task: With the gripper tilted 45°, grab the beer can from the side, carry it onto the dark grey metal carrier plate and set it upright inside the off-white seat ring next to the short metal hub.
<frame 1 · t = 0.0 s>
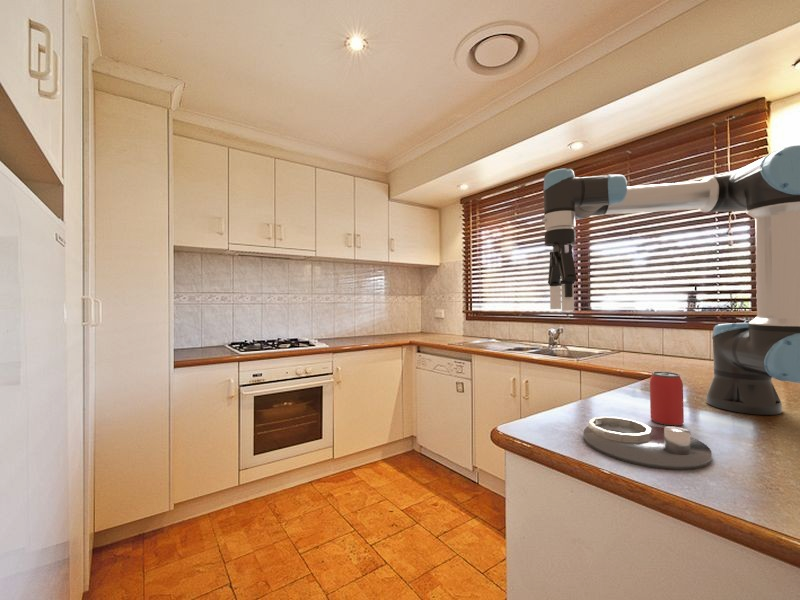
hand: (561, 310, 96), 28 cm above the counter, tool pointing down, fingers open, 13 cm apart
beer can: (666, 423, 89), on the counter
carrier plate: (642, 445, 76), on the counter
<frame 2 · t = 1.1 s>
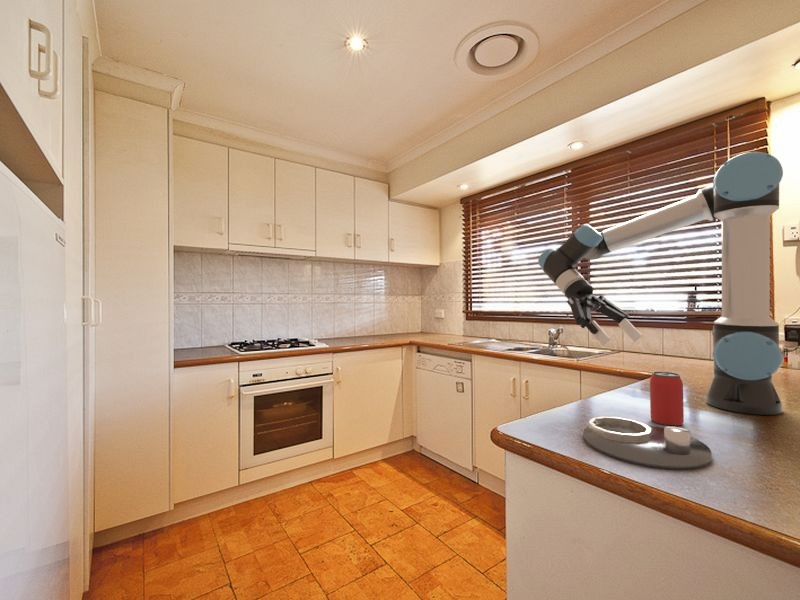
hand: (623, 340, 99), 19 cm above the counter, tool tilted 45°, fingers open, 13 cm apart
nothing on the counter moved.
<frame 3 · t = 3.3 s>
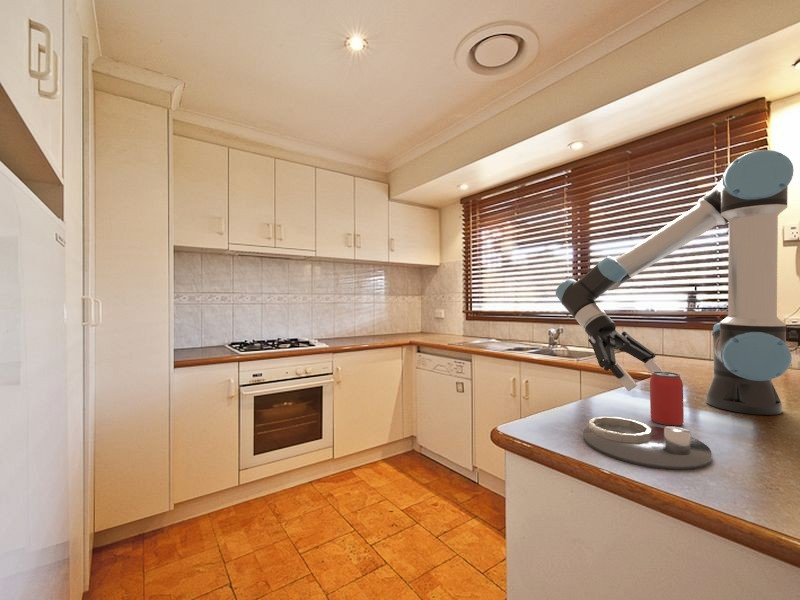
hand: (650, 385, 92), 9 cm above the counter, tool tilted 45°, fingers open, 13 cm apart
nothing on the counter moved.
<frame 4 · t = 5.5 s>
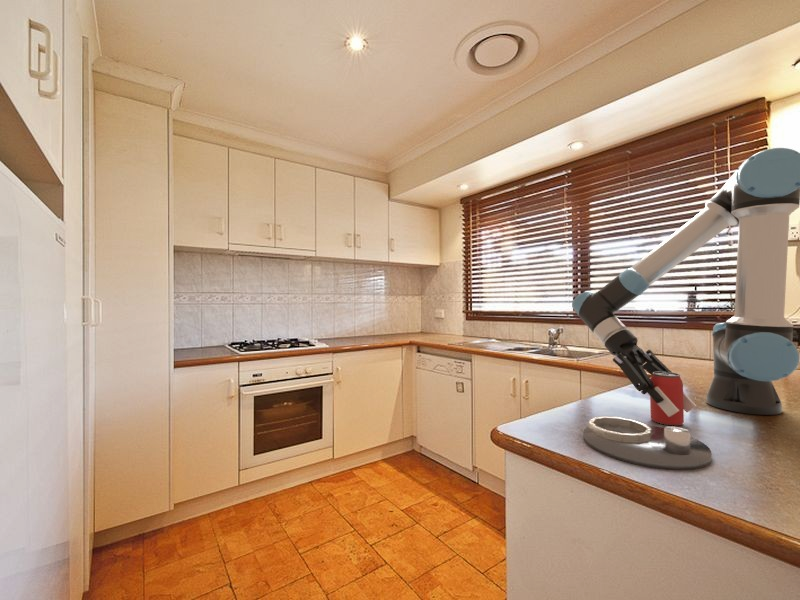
hand: (682, 411, 86), 4 cm above the counter, tool tilted 45°, fingers closed on beer can, 6 cm apart
beer can: (666, 423, 89), on the counter, touching gripper
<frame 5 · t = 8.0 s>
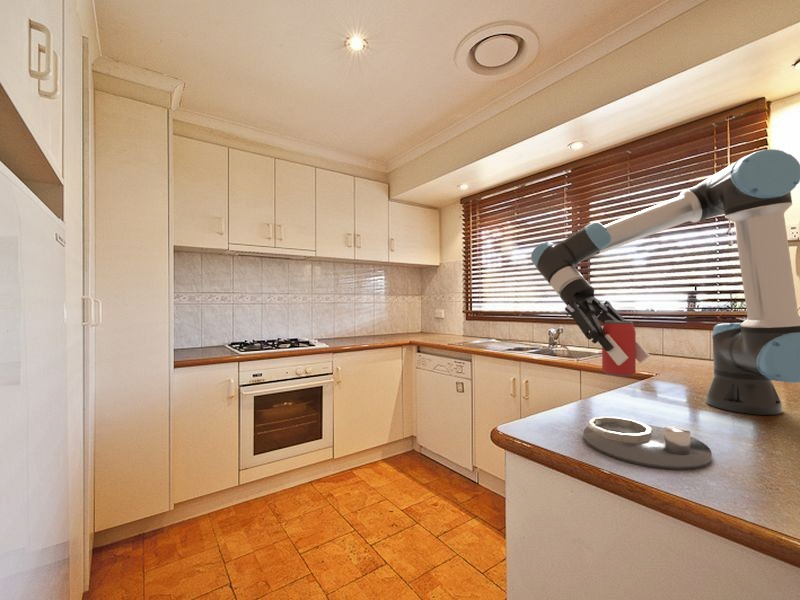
hand: (634, 360, 80), 17 cm above the counter, tool tilted 45°, fingers closed on beer can, 6 cm apart
beer can: (618, 374, 83), point 13 cm above the counter, touching gripper
when the fingers open (6 cm above the counter, at t = 11.0 s): beer can drops 1 cm, resting on carrier plate.
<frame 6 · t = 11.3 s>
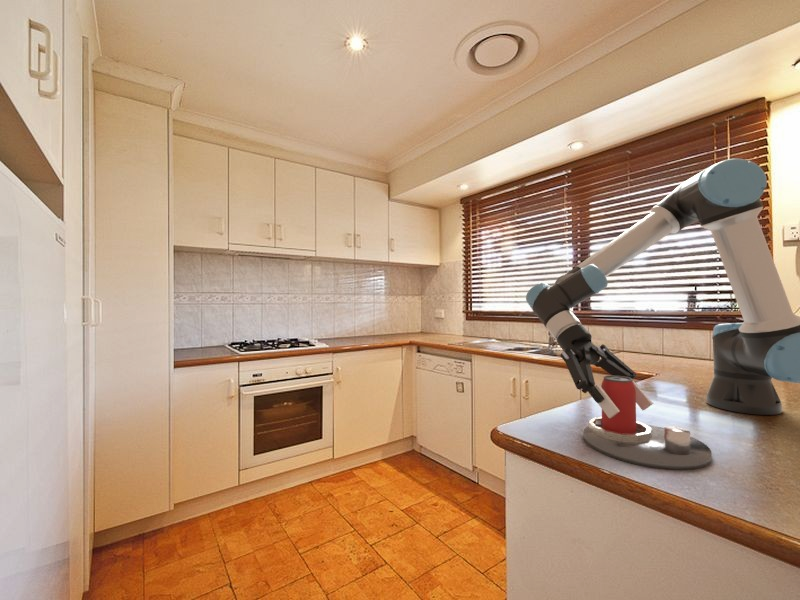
hand: (631, 410, 78), 7 cm above the counter, tool tilted 45°, fingers open, 10 cm apart
beer can: (618, 432, 81), point 1 cm above the counter, touching carrier plate
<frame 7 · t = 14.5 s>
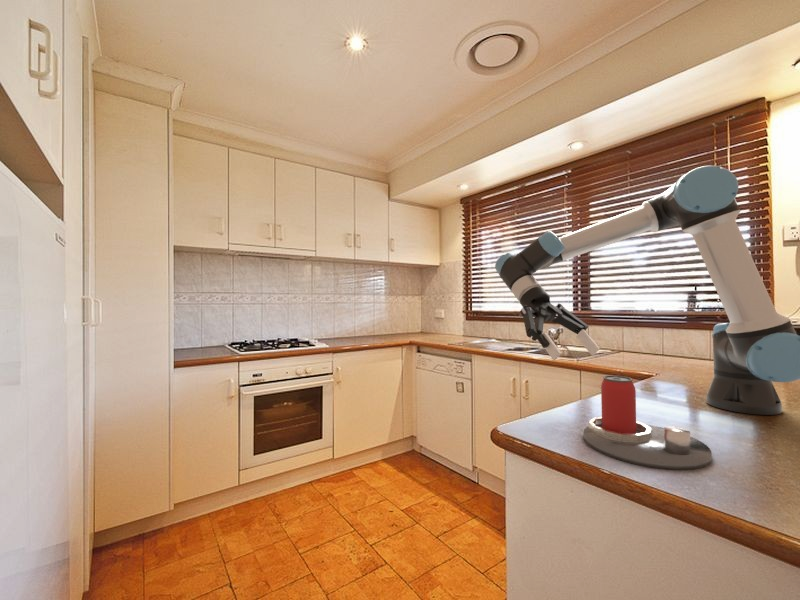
hand: (577, 354, 90), 17 cm above the counter, tool tilted 45°, fingers open, 13 cm apart
nothing on the counter moved.
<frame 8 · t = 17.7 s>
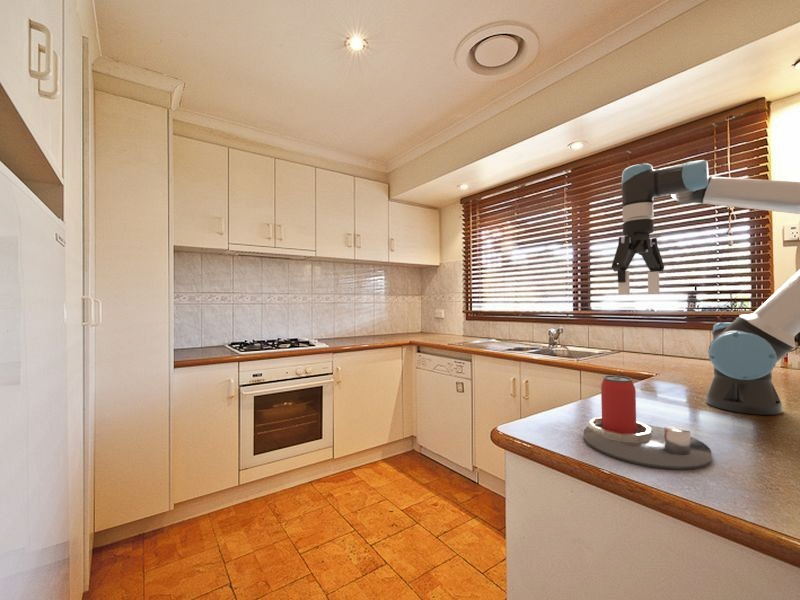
hand: (639, 294, 105), 32 cm above the counter, tool pointing down, fingers open, 13 cm apart
nothing on the counter moved.
at the end: beer can 0.1 cm from the target spot on the carrier plate, point 1.0 cm above the carrier plate's base; beer can tilted 0°; the gripper is holding nothing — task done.
